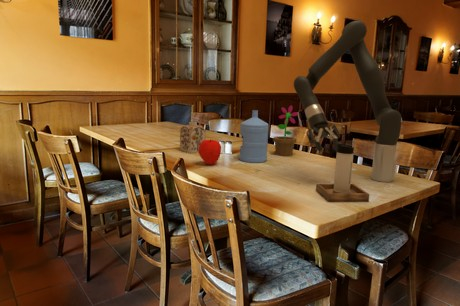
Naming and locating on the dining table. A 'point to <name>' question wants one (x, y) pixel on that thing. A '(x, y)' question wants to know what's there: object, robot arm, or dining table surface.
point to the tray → (342, 194)
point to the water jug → (254, 139)
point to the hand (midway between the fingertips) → (329, 149)
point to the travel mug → (343, 169)
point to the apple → (210, 151)
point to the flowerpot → (282, 142)
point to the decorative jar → (191, 137)
